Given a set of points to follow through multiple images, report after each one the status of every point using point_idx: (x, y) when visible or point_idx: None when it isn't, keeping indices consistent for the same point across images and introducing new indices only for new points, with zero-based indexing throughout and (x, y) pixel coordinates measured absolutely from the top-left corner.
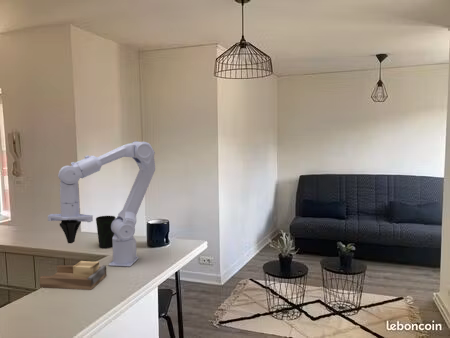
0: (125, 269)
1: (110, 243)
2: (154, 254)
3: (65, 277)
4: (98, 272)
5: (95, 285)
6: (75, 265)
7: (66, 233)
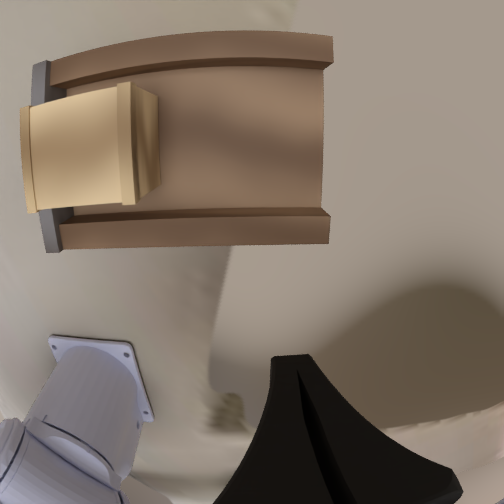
0: (49, 310)
1: None
2: None
3: (177, 51)
4: None
5: None
6: (122, 104)
7: (337, 419)
